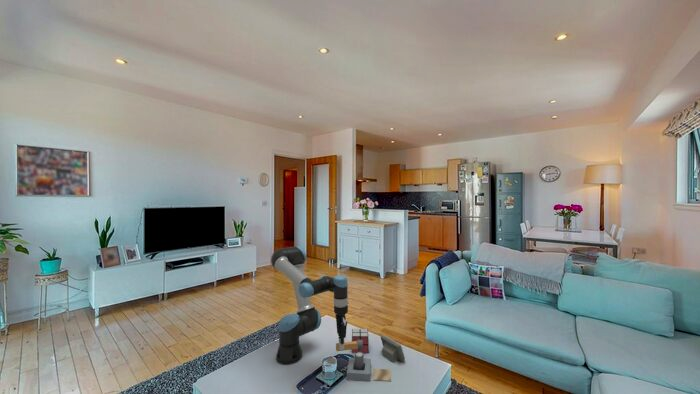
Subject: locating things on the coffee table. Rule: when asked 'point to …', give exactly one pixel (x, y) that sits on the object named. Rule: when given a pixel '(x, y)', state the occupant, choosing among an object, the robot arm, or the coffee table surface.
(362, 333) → the puzzle cube
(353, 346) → the wooden handle
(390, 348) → the digital clock
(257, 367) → the coffee table surface
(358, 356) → the plug
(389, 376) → the coaster
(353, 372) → the socket
